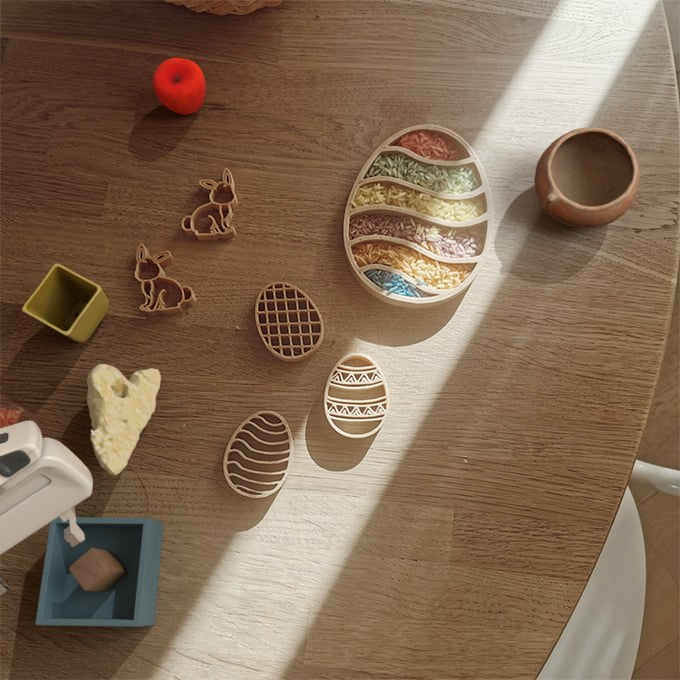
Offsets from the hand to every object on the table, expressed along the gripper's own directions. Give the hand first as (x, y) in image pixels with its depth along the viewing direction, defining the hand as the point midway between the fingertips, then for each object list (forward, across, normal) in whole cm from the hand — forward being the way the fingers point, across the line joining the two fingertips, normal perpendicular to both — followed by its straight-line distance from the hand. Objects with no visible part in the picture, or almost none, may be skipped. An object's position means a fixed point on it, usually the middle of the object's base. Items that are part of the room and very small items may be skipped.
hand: (41, 565), depth 81 cm
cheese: (+4, +13, +28) cm, 31 cm away
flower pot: (-9, +15, +42) cm, 45 cm away
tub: (+16, 0, +16) cm, 23 cm away
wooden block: (+15, 0, +16) cm, 22 cm away
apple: (-28, +49, +60) cm, 83 cm away
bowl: (+10, +91, +21) cm, 94 cm away
